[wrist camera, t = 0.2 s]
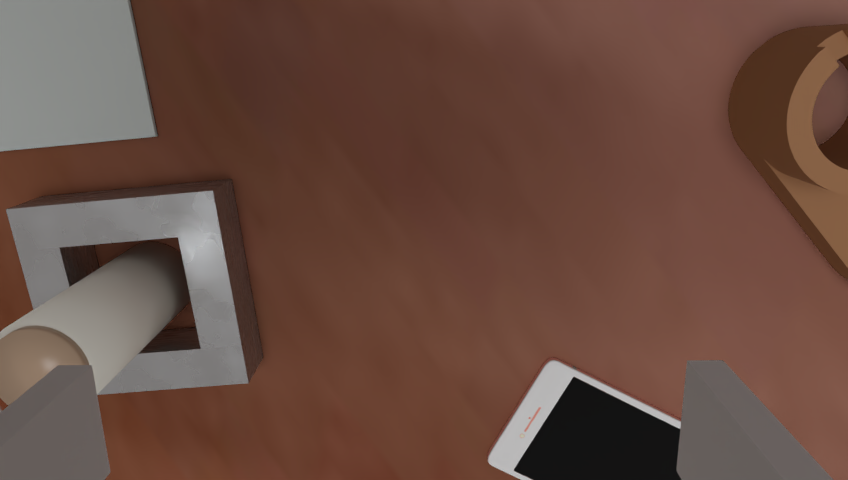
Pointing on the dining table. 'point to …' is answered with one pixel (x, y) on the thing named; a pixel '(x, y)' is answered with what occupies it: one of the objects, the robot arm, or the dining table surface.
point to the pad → (71, 74)
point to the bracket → (797, 131)
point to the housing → (202, 258)
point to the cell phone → (585, 432)
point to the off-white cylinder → (96, 320)
